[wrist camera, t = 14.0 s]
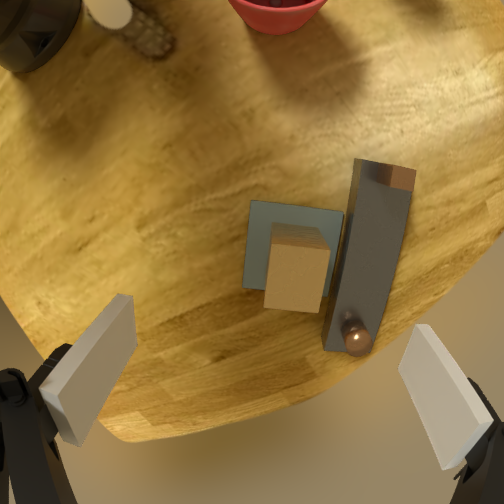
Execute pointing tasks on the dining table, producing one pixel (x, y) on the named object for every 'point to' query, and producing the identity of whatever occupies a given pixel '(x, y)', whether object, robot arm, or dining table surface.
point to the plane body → (367, 255)
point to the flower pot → (276, 14)
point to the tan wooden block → (295, 268)
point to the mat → (288, 214)
